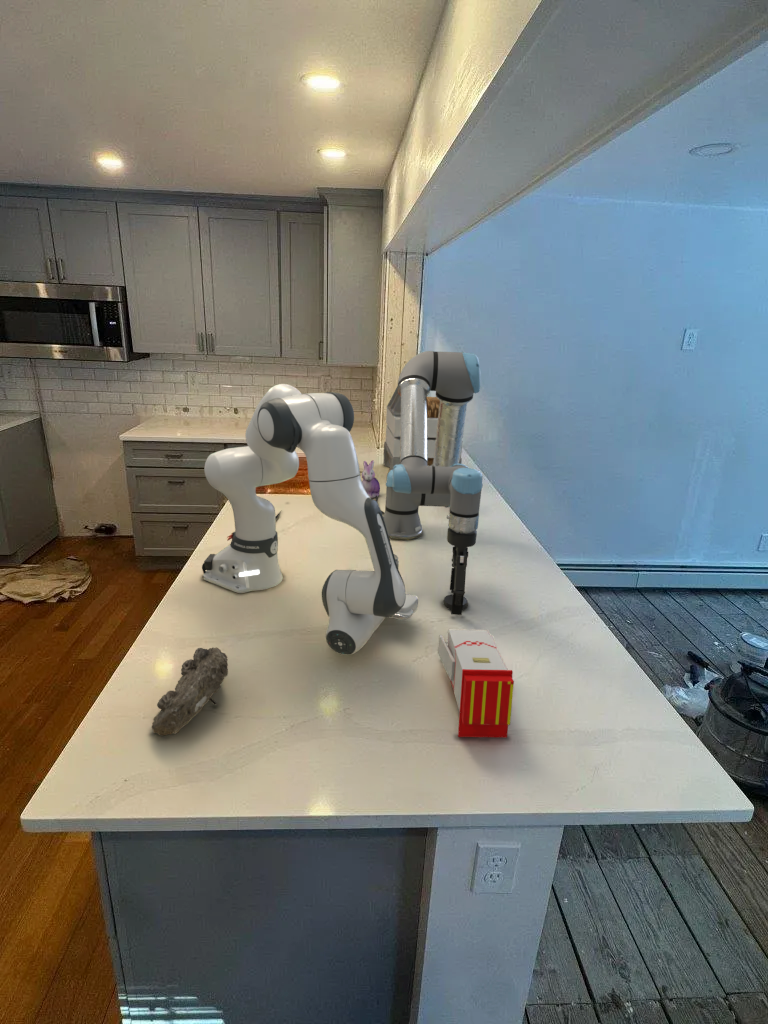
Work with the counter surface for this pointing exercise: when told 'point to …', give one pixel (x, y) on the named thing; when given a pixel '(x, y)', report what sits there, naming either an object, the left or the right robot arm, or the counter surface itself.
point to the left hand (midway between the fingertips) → (387, 586)
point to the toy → (478, 682)
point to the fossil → (191, 690)
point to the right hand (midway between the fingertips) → (455, 601)
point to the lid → (449, 602)
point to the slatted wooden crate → (395, 426)
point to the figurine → (370, 480)
